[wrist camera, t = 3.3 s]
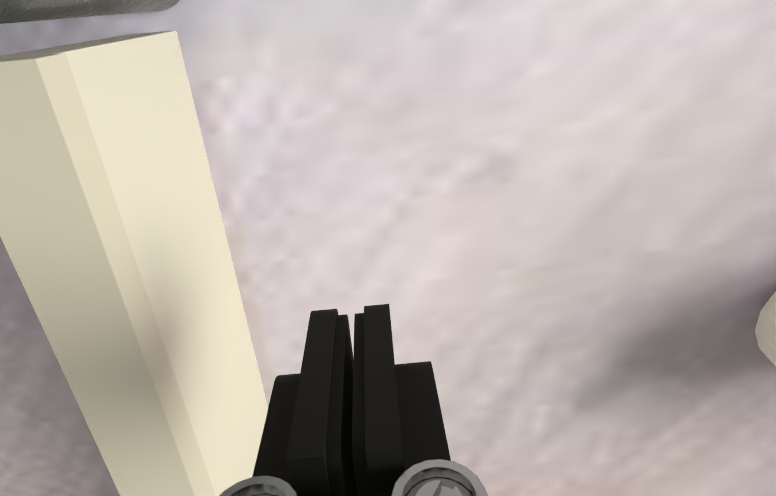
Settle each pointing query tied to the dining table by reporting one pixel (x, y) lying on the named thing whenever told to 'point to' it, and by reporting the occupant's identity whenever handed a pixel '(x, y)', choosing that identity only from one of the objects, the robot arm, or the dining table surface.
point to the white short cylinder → (767, 329)
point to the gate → (130, 260)
